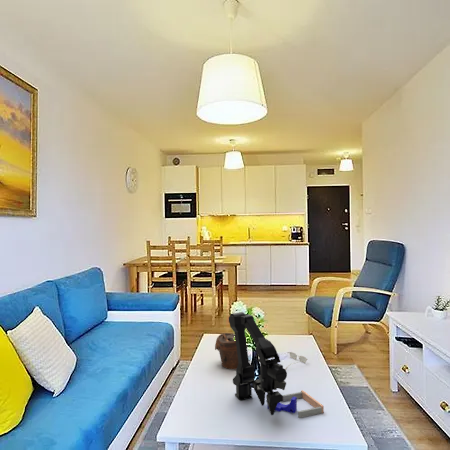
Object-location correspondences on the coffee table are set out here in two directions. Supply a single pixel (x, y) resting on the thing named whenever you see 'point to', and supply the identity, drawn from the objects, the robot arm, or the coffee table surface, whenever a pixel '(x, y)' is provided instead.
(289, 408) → the cable clip
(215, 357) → the coffee table surface
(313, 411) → the frame
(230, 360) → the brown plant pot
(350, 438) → the coffee table surface
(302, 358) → the eyeglasses
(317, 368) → the coffee table surface
